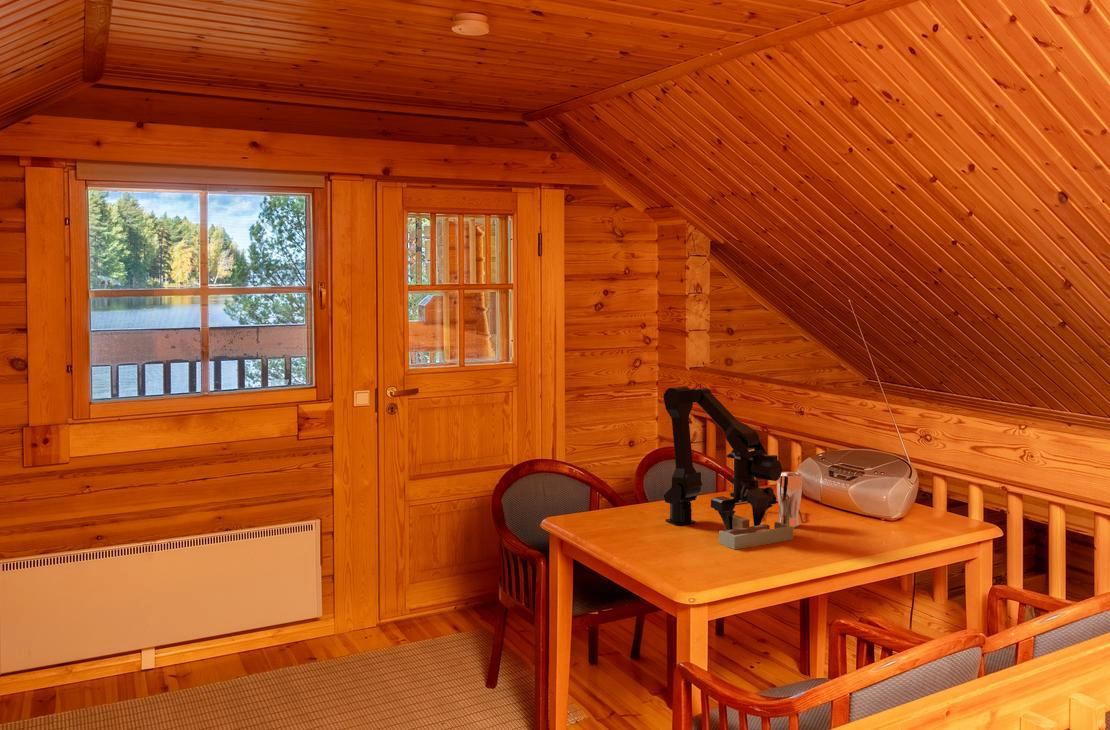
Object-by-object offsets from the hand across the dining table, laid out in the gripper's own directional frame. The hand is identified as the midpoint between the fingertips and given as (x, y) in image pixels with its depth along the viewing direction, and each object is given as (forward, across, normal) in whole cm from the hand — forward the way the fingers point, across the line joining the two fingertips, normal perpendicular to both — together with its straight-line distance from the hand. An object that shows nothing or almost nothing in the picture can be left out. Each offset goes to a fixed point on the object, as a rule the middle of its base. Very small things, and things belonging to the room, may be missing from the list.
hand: (743, 531), depth 273 cm
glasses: (+2, +23, +12) cm, 26 cm away
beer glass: (+2, +19, +3) cm, 19 cm away
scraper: (+2, 0, +2) cm, 3 cm away
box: (+2, 0, -6) cm, 6 cm away
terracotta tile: (+2, +4, -5) cm, 6 cm away
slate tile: (+2, -4, -5) cm, 6 cm away
